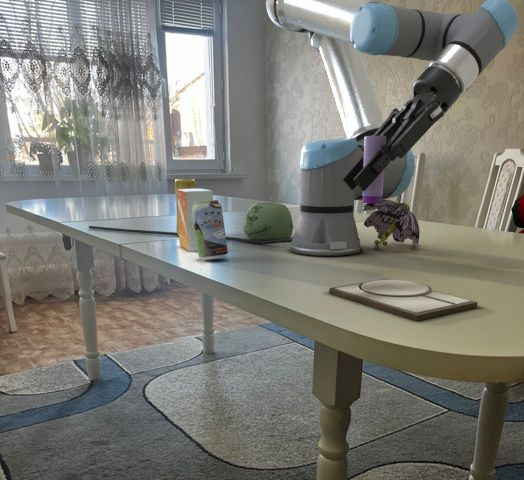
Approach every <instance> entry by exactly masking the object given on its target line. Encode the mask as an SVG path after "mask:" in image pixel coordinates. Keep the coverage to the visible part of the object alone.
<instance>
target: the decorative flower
mask: <svg viewBox="0 0 524 480" xmlns="http://www.w3.org/2000/svg"><path fill="white" fill-rule="evenodd" d="M364 204H365V205H364V206H363V210H362V212H367V211H372V210H373V212H372V213H370V215H369V216H368V217H366V219H365V220H364V222H363V226H364V227H366V228H369V227H373V228H374V229H375V230H376V231H375V232H376V233H378V234H377V239H375V240H374V242H373V244H374V246H373V249H375V250H379V248H380V245H381V244H382V245H383V246H384V247H386V246H388V241H387V240H388V238H389V237H391V235H392V238H393V240H394V242H395V243H404V242H405V240H408V239H409V240H410V241H412V248H413V249H417V247H418V245H419V242H420V226H419V225H420V224H419V222H418V219H417V218H416V216H415V215H414V213H412V211H410V206H409V205H408V204H407V203H405V202H400V203H398V202H397V201H394V200H391V199H384V200H381V203H364ZM374 210H375V211H374Z"/></svg>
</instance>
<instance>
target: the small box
mask: <svg viewBox="0 0 524 480" xmlns="http://www.w3.org/2000/svg"><path fill="white" fill-rule="evenodd" d="M206 200H214V191H213V190H212V189H211V190H210V189H207V188H196V189H177V203H178V221H179V236H178V238H179V246H180V247H182V248H183V249H185V250H187V251H188V252H198V248H197V242H196V235H195V228H194V222H193V215H192V208H193V206H194V202H199V201H206Z"/></svg>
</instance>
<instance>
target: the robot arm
mask: <svg viewBox="0 0 524 480" xmlns="http://www.w3.org/2000/svg"><path fill="white" fill-rule="evenodd" d="M265 5H266V11H267V14H268V17H269V18H270V19H271V21H272V23H274V24H275V26H277V27H279V28H280V29H282V30H284V31H289V32H294V33H302V34H307V35H308V37H309V40H310V45H311V46H312V48H313V50H314V51H315V52H317V53H320V54H321V57H322V60H323V63H324V67H325V70H326V73H327V76H328V79H329V83H330V86H331V90H332V93H333V96H334V99H335V103H336V107H337V109H338V113H339V116H340V118H341V119H340V120H341V123H342V125H343V129H344V132H345V136H346V137H340V138H339V137H338V138H331V139H321V140H317V141H312V142H308V143H306V144H305V145H304V146H303V147H302V149H301V155H300V164H299V168H300V186H299V187H300V190H299V191H300V193H299V194H300V195H299V216H298V217H299V218H298V220H297V223H296V227H295V230H294V234H293V236H292V238H287V239H280V240H271V241H261V240H253V239H250V238H242V237H233V236H226V241H233V242H242V243H243V242H244V243H249V244H254V245H255V244H256V245H273V244H283V243H291V244H290V245H291V246H290V247H291V248H290V250H291V251H292V252H293V253H296V254H300V255H304V256H306V255H307V256H316V257H339V256H341V257H342V256H350V255H355V254H359V253H360V252H361V239H360V238H359V233H358V228H357V224H356V219H355V215H354V213H355V212H354V211H355V201H363V196H362V191H365V190H366V189H367V188H368V187H369V186H370V184H371V183H372V182H373V181H374V180H375V179H376V178H377V177H378V175H379V174H380V173H381V172H382V171H383V170H384V180H383V196H381V200H388V199H393V198H396V197H399V196H401V195H402V194H404V193H405V192H406V191H407V190H408V188H409V187H410V185H411V183H412V179H413V177H414V174H415V170H416V169H415V168H416V161H415V160H416V159H415V155H414V153H413V151H412V148H413V147H414V146H415V145H416V144H417V143H418V142H419V141H420V139H422V137H423V136H425V134H426V133H427V132H428V131H429V130H430V129H431V128H432V126H433V125H434V124H436V123H437V122H438V121H439V120H440V119H442V118H443V117H444V116H445V114H446V113H447V112H448V111H449V110H450V108H451V107H453V105H454V104H455V103H456V102H457V100H459V98H460V97H461V96H462V95H463V94H464V92H465V91H468V90H469V89H470V87H471V84H473V82H474V81H475V80H476V79H477V78H478V76H480V75H481V73H482V72H483V71H484V70H485V69H486V68H487V67H488V66H489V64H490V63H491V62H492V61H493V60H494V59H495V58H496V57H497V56H498V54H499V53H500V52H501V51H502V50H504V49H505V48H506V46H507V44H508V43H509V42H510V40H511V39H512V38H513V37H514V35H515V34H516V32H517V31H518V28H519V24H520V21H519V20H520V19H519V16H518V14H517V13H518V12H517V10H516V8H515V7H514V6H513V4H512V3H511V2H510V1H508V0H486V1H485V2H484V3H483V4H482V5H479V7H478V8H477V10H476V11H475V12H465V13H442V12H435V11H429V10H421V9H417V8H416V9H415V8H409V7H408V8H407V7H403V6H397V5H391V4H387V3H383V2H377V1H374V0H265ZM363 54H367V55H370V56H389V57H400V58H408V59H416V60H421V61H427V62H430V64H429V66H428V67H427V68H425V70H424V71H423V72H422V73H421V74H420V75H419V76H418V78H417V79H416V80H415V81H414V83H413V85H412V92H413V97H412V98H411V99H409V100H408V101H406V102H405V103H404V104H403V106H402V108H401V109H400V110H399V109H398V108H397V107H394V108H393V109H392V111H391V112H390V113H389V115H388V117H387V118H386V119H385V121H384V119H383V116H382V113H381V110H380V107H379V103H378V101H377V97H376V95H375V91H374V87H373V84H372V81H371V78H370V75H369V73H368V72H369V71H368V69H367V65H366V62H365V60H364V56H363ZM365 136H386V144H383V145H381V146H380V147H381V149H382V150H383V151H384V153H383V152H382V151H381V150H379V151H378V152H377V153H376V154H375V155H374V156H373V157H372V159H371V160H370V161H369V162H368V163H367V164H366V165H365V166H364V168H363V161H364V140H365ZM88 229H92V230H93V229H94V230H102V231H112V232H124V233H136V234H137V233H138V234H151V235H162V236H163V235H165V236H176V237H178V236H177V235H178V233H177V232H174V231H173V232H172V231H160V230H145V229H144V230H143V229H133V228H131V229H130V228H118V227H108V226H107V227H106V226H96V225H88Z"/></svg>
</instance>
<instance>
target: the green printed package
mask: <svg viewBox="0 0 524 480" xmlns="http://www.w3.org/2000/svg"><path fill="white" fill-rule="evenodd" d="M192 215H193V222H194V228H195V235H196V242H197V248H198V251H197V254H198V257H199V258H201V259H202V260H203V261H210V260H217V259H223V258H225V257H226V255H227V254H228V253H229V250H228V244H227V240H226V237H227V236H226V235H227V234H226V229H225V228H226V227H225V220H224V214H223V207H222V205H221V203H220V202H219V199H213V200H206V201H199V202H194V206H193V208H192Z"/></svg>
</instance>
